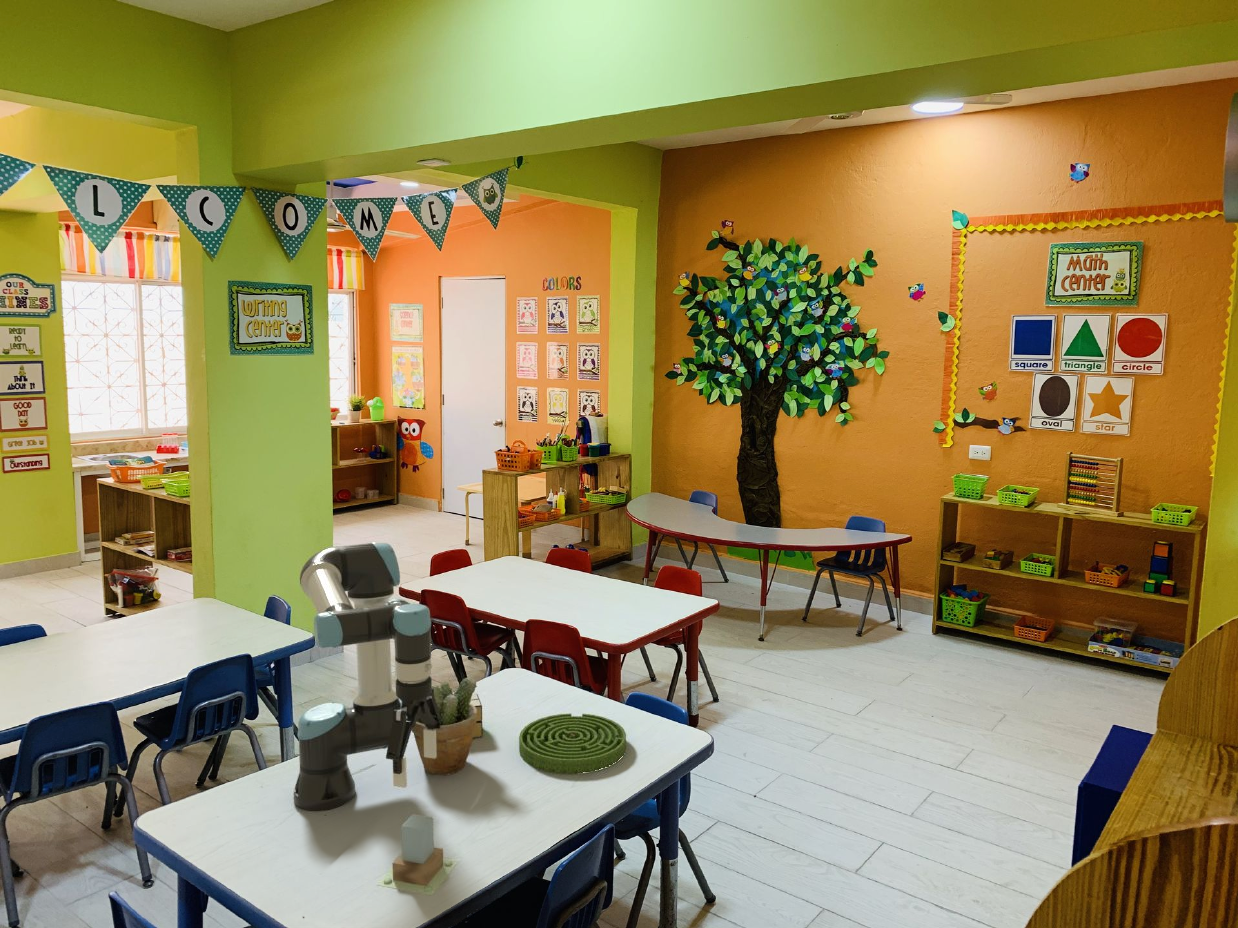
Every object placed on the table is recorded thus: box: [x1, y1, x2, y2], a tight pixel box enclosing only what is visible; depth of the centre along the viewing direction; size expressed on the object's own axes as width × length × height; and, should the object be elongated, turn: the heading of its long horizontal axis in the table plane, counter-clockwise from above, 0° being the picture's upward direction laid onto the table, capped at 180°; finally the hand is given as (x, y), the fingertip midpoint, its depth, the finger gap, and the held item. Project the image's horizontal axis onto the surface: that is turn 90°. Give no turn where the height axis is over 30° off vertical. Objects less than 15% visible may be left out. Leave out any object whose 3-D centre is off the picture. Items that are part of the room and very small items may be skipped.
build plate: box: [376, 857, 459, 896], centre depth 197 cm, size 13×13×1 cm
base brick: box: [392, 846, 444, 886], centre depth 197 cm, size 8×8×4 cm
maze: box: [518, 713, 627, 775], centre depth 259 cm, size 31×31×5 cm
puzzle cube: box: [470, 692, 483, 739], centre depth 269 cm, size 10×10×10 cm
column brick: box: [401, 813, 435, 864], centre depth 196 cm, size 5×5×8 cm
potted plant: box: [411, 677, 477, 776], centre depth 247 cm, size 18×19×25 cm
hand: (415, 771), depth 194 cm, fingers open, 13 cm apart
